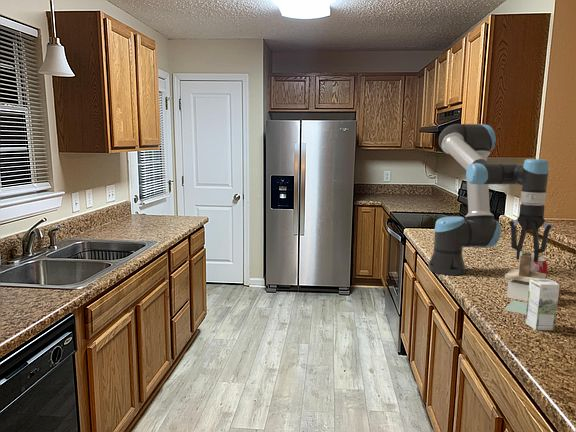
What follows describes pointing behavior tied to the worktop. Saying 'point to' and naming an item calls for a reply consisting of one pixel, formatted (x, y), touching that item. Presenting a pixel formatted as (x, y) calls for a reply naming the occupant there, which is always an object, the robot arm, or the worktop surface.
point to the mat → (517, 307)
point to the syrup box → (542, 304)
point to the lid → (524, 270)
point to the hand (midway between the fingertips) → (526, 269)
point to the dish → (518, 289)
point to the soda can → (540, 266)
